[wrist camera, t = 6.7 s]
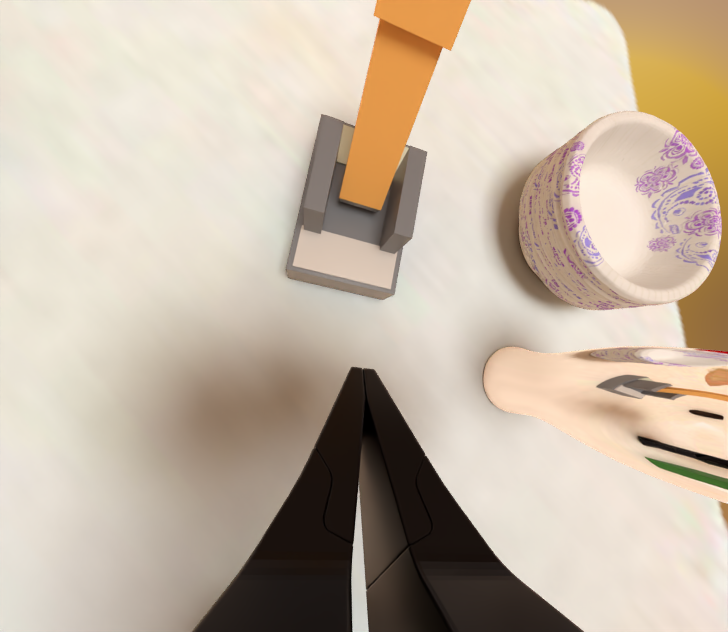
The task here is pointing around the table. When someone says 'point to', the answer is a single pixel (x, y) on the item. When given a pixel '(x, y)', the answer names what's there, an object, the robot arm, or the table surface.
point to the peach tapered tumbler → (628, 406)
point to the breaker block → (352, 220)
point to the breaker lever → (395, 91)
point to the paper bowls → (621, 215)
